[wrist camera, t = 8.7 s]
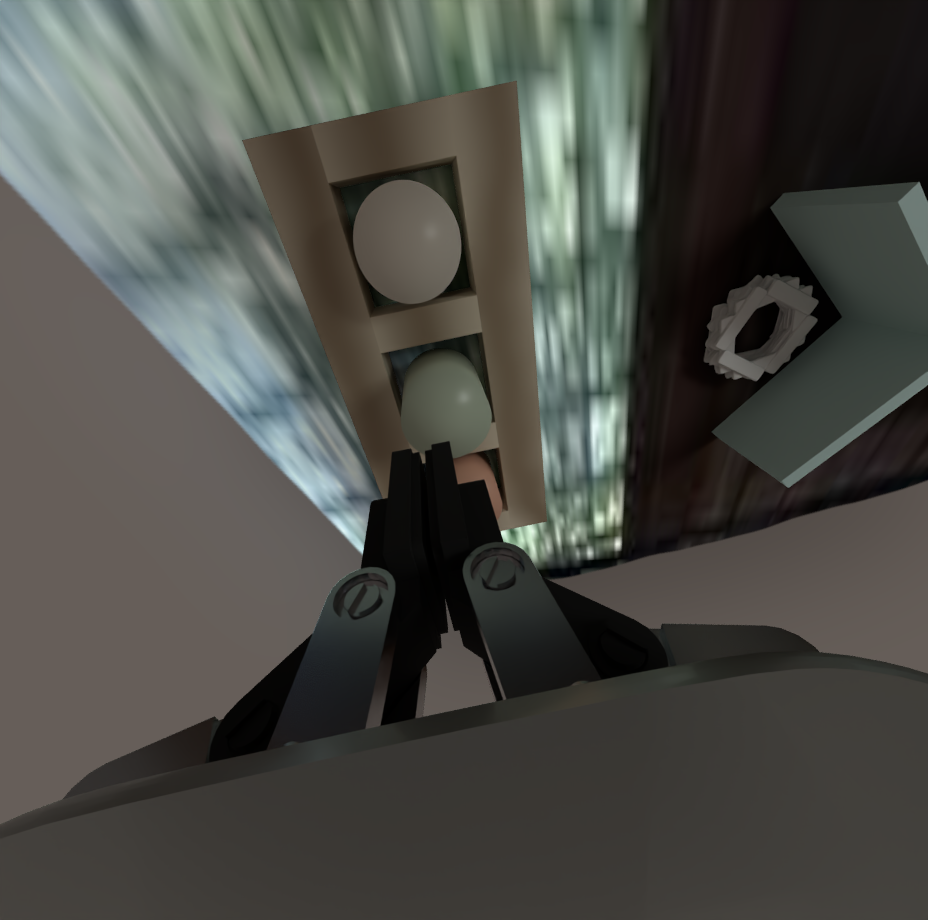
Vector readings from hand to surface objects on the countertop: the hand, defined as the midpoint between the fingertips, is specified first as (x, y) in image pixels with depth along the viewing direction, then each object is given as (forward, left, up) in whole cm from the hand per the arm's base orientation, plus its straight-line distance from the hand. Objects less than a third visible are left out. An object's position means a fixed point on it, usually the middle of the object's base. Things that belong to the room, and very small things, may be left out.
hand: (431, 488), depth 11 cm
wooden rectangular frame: (-1, +2, -16) cm, 16 cm away
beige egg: (-1, -6, -16) cm, 16 cm away
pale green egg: (-1, +2, -14) cm, 14 cm away
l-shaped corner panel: (-23, +4, -17) cm, 28 cm away
